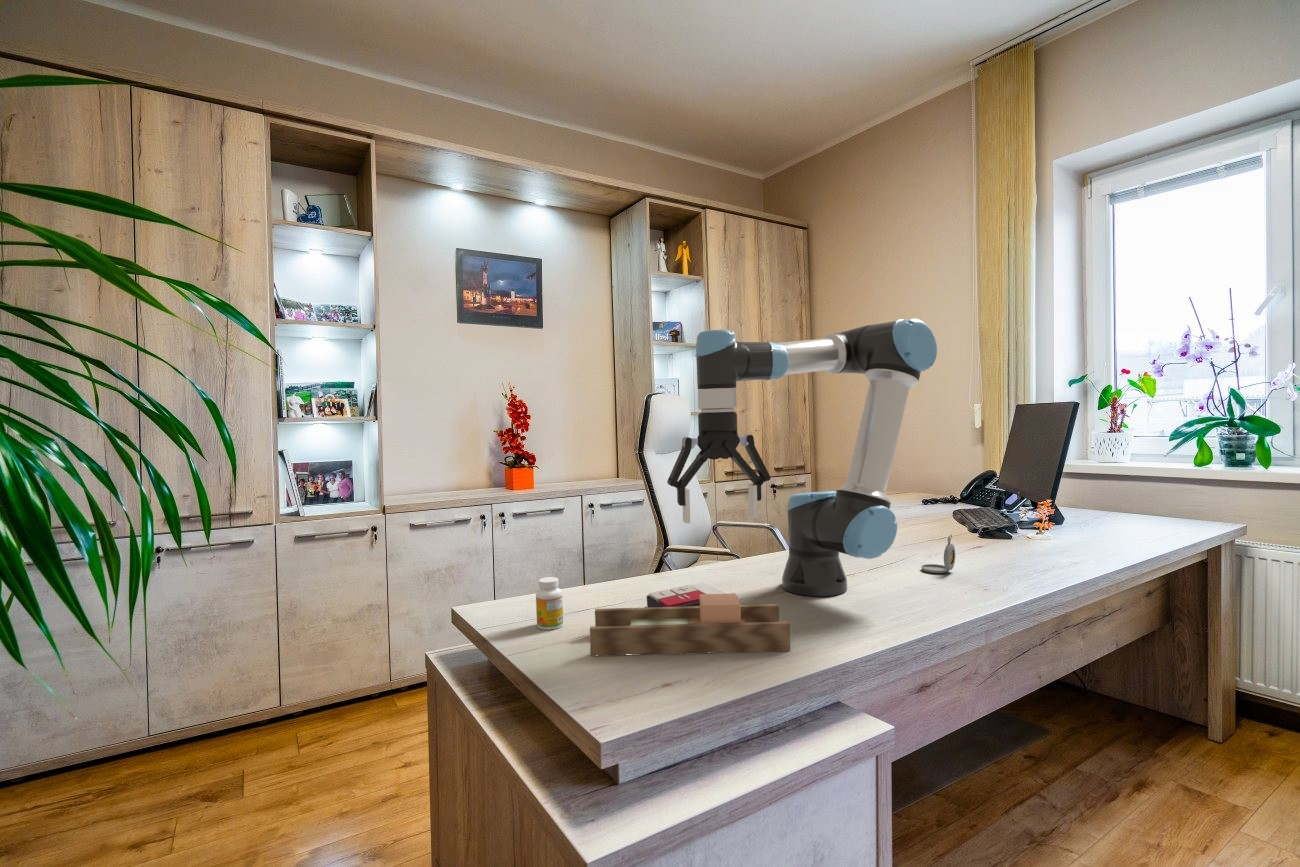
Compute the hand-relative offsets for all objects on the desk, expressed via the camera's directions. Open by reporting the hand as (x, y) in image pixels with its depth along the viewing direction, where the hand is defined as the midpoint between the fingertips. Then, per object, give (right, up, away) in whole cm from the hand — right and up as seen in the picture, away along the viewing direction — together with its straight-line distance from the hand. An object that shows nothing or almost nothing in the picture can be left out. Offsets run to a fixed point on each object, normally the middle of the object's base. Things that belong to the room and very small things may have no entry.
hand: (720, 520), depth 125 cm
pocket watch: (+61, -19, +40) cm, 75 cm away
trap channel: (-6, -23, -4) cm, 24 cm away
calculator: (-5, -22, +16) cm, 28 cm away
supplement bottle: (-34, -23, +7) cm, 42 cm away
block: (-1, -19, -4) cm, 20 cm away
